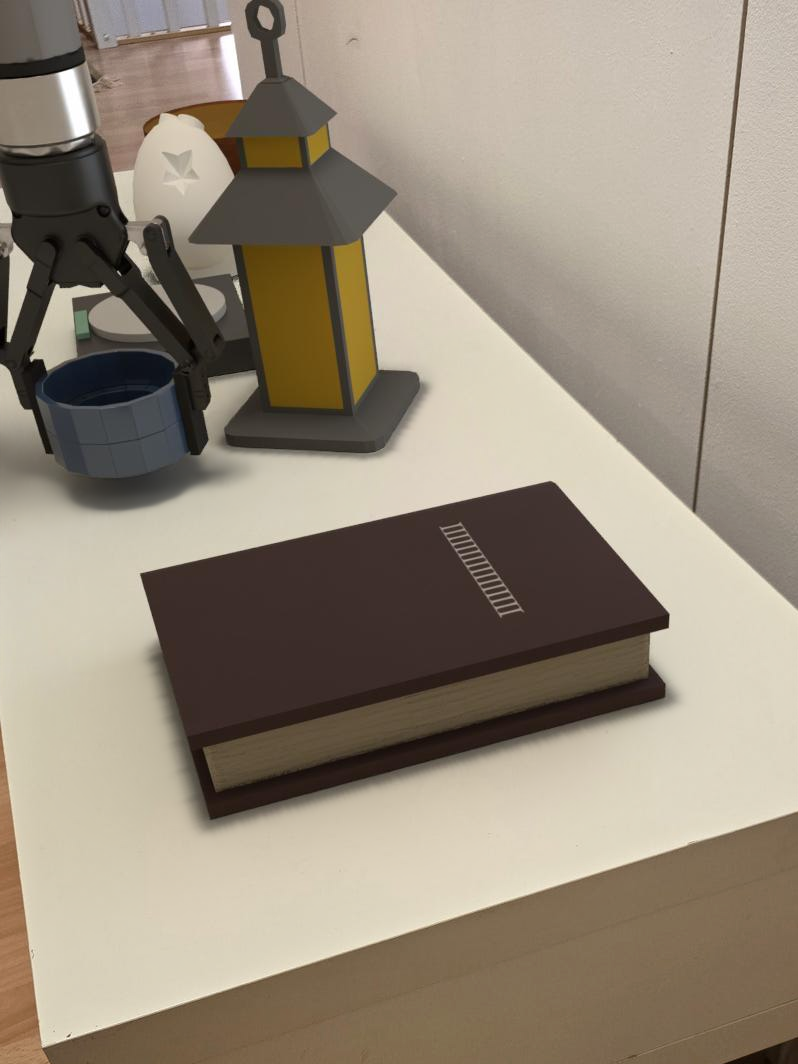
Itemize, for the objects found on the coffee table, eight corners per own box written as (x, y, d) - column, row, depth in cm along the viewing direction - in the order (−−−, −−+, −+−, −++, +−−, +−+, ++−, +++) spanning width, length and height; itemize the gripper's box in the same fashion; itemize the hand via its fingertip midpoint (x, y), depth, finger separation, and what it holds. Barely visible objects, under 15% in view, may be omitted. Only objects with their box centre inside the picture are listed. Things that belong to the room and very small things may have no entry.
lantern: (380, 453, 100) (326, 15, 79) (220, 445, 103) (128, 21, 82) (423, 381, 110) (386, -25, 89) (276, 376, 112) (206, -19, 92)
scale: (87, 397, 111) (75, 355, 109) (80, 328, 124) (69, 289, 121) (260, 368, 114) (252, 327, 111) (235, 303, 127) (228, 264, 124)
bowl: (159, 200, 154) (139, 110, 148) (297, 182, 157) (283, 92, 150) (167, 243, 142) (146, 147, 135) (316, 222, 144) (303, 127, 137)
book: (546, 547, 87) (544, 470, 83) (665, 696, 74) (669, 613, 70) (158, 639, 82) (136, 561, 78) (210, 819, 68) (186, 736, 64)
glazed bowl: (36, 484, 94) (12, 409, 90) (85, 420, 102) (65, 348, 98) (176, 485, 93) (158, 409, 89) (215, 420, 101) (200, 347, 97)
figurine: (255, 286, 130) (226, 127, 119) (148, 298, 129) (110, 139, 119) (253, 252, 138) (226, 100, 127) (152, 263, 137) (117, 112, 127)
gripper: (231, 120, 83) (282, 426, 99) (-93, 128, 86) (5, 425, 101) (201, 152, 78) (260, 470, 93) (-143, 159, 81) (-32, 467, 96)
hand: (127, 447), depth 97 cm, fingers closed on glazed bowl, 11 cm apart
